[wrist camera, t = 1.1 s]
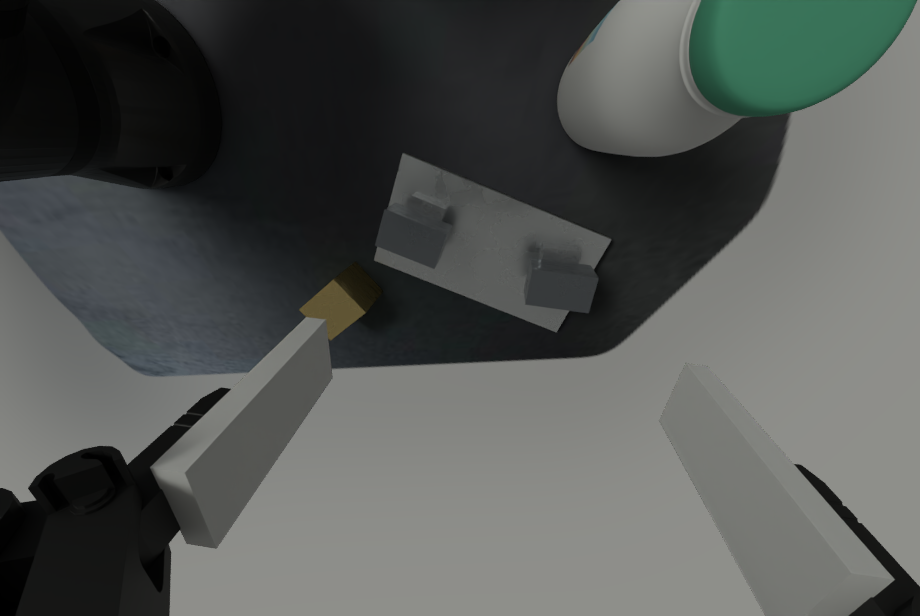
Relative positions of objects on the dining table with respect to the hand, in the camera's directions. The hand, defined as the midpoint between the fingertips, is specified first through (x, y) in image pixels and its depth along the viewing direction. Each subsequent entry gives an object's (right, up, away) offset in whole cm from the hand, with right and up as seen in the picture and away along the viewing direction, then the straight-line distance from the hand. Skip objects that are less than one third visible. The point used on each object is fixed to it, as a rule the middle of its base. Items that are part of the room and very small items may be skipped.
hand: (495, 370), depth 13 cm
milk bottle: (+10, +18, +13) cm, 25 cm away
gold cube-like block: (-12, +4, +23) cm, 27 cm away
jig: (+1, +8, +19) cm, 21 cm away
